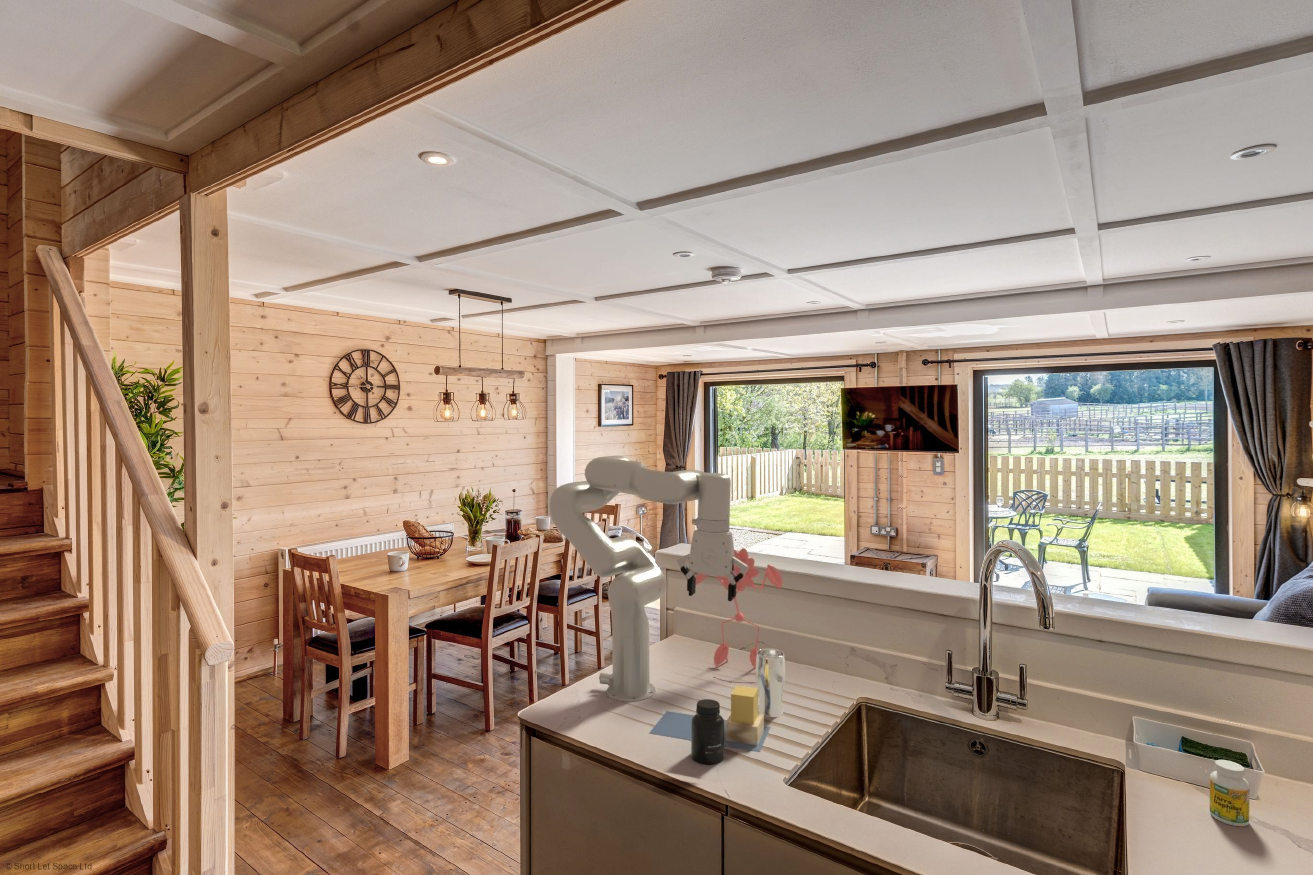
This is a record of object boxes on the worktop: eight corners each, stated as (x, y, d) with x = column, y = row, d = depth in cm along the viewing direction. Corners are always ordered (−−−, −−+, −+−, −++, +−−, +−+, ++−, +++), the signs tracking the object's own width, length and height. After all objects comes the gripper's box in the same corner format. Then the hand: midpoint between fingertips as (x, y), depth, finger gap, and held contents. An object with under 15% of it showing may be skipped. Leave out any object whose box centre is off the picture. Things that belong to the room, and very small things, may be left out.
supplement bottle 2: (1250, 818, 120) (1251, 764, 119) (1247, 831, 116) (1249, 776, 116) (1211, 805, 124) (1212, 754, 123) (1207, 818, 120) (1208, 765, 119)
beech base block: (725, 740, 148) (725, 722, 148) (733, 726, 154) (733, 709, 154) (757, 745, 145) (757, 727, 145) (763, 731, 152) (763, 713, 152)
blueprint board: (648, 736, 151) (648, 733, 151) (666, 714, 163) (666, 710, 163) (759, 755, 143) (759, 751, 143) (770, 730, 154) (770, 727, 154)
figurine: (700, 656, 201) (699, 539, 199) (787, 669, 191) (787, 546, 189) (682, 675, 187) (681, 550, 185) (774, 690, 177) (774, 558, 175)
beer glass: (785, 722, 158) (785, 659, 157) (754, 720, 159) (754, 657, 159) (785, 709, 165) (785, 648, 164) (756, 707, 166) (756, 647, 166)
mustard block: (730, 720, 148) (730, 693, 148) (736, 711, 153) (736, 685, 153) (753, 724, 146) (753, 697, 146) (758, 714, 151) (758, 688, 151)
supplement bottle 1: (714, 772, 136) (714, 713, 136) (685, 763, 140) (685, 705, 139) (729, 757, 142) (729, 701, 142) (701, 749, 146) (700, 694, 145)
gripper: (673, 524, 159) (671, 596, 160) (745, 531, 153) (743, 606, 154) (683, 520, 166) (682, 588, 167) (753, 526, 160) (750, 597, 161)
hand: (711, 597), depth 161 cm, fingers open, 9 cm apart
